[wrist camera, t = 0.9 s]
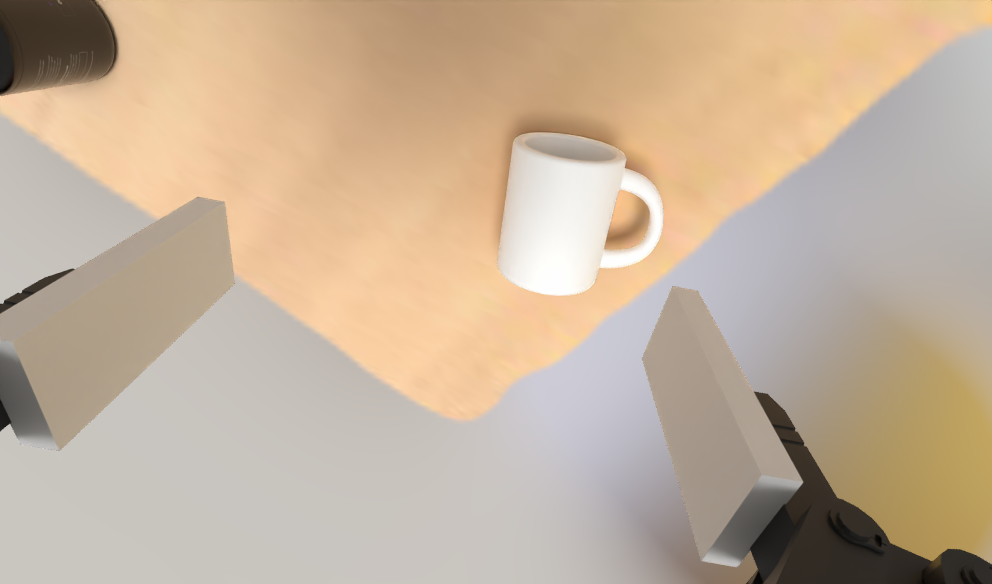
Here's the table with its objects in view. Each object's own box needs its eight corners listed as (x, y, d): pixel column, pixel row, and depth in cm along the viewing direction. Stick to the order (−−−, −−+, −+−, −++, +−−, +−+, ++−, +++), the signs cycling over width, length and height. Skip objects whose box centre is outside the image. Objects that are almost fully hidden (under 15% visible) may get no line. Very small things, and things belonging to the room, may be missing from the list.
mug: (499, 243, 43) (493, 288, 36) (515, 126, 38) (511, 153, 31) (635, 261, 43) (655, 310, 36) (669, 147, 38) (700, 179, 31)
